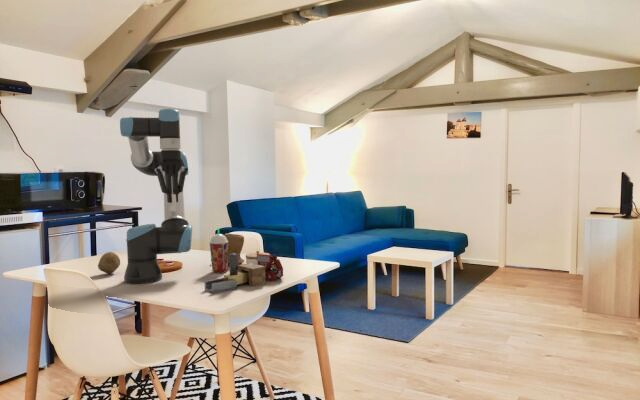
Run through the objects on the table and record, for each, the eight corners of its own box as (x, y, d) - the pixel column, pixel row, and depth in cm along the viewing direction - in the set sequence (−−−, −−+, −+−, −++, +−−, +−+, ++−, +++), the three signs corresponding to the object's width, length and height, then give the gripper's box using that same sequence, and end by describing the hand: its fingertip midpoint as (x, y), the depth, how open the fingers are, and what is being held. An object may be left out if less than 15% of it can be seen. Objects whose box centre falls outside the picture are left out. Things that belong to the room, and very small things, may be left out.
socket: (238, 282, 189) (237, 265, 189) (250, 279, 193) (249, 262, 193) (252, 286, 181) (252, 268, 181) (265, 283, 185) (265, 266, 185)
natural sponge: (124, 273, 211) (123, 251, 211) (104, 277, 205) (103, 254, 204) (115, 270, 217) (114, 249, 217) (96, 274, 211) (95, 252, 210)
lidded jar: (266, 274, 202) (265, 253, 202) (242, 274, 204) (242, 252, 204) (273, 269, 213) (272, 249, 212) (251, 268, 215) (250, 248, 214)
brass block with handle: (224, 284, 181) (222, 254, 180) (252, 278, 189) (251, 250, 189) (228, 285, 178) (227, 255, 177) (257, 279, 187) (256, 251, 186)
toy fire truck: (277, 282, 187) (276, 257, 186) (252, 279, 193) (252, 255, 192) (286, 278, 193) (286, 254, 192) (262, 276, 199) (262, 252, 199)
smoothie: (233, 271, 210) (231, 227, 209) (217, 274, 204) (215, 229, 203) (222, 268, 216) (220, 226, 215) (207, 272, 210) (205, 228, 209)
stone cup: (250, 262, 230) (249, 232, 229) (234, 267, 220) (233, 235, 219) (226, 260, 237) (225, 231, 236) (210, 264, 227) (209, 234, 226)
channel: (204, 290, 177) (204, 281, 177) (227, 285, 184) (227, 276, 183) (213, 293, 172) (212, 284, 172) (236, 288, 179) (236, 279, 179)
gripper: (157, 149, 171) (160, 212, 173) (190, 149, 180) (193, 210, 181) (150, 150, 177) (152, 211, 178) (182, 150, 185) (184, 209, 187)
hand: (173, 210), depth 180 cm, fingers closed
